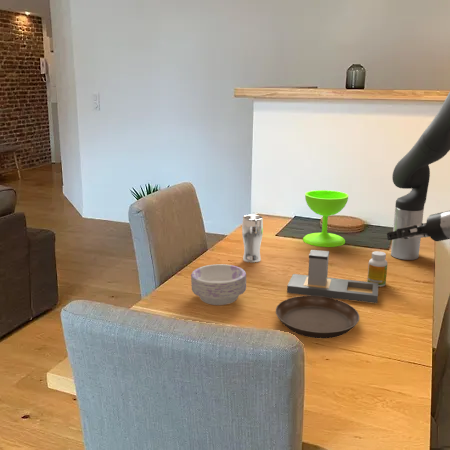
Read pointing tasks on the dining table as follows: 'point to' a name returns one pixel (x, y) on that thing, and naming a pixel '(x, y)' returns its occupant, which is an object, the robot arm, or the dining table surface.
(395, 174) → the robot arm
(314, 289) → the gray slotted tray
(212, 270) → the paper bowls
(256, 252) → the beer glass
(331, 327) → the plant saucer
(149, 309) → the dining table surface
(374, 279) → the supplement bottle
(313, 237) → the wineglass
